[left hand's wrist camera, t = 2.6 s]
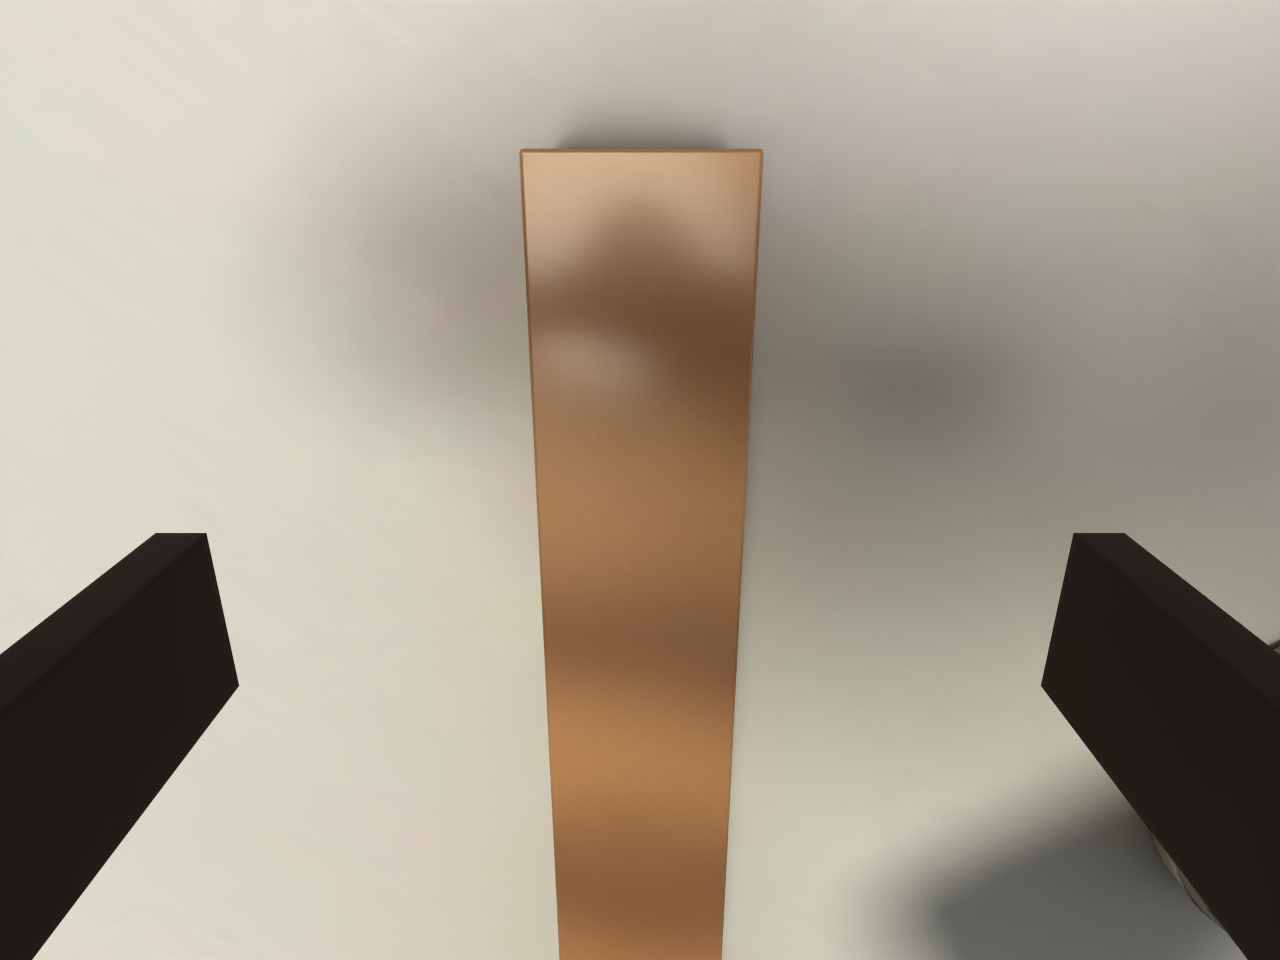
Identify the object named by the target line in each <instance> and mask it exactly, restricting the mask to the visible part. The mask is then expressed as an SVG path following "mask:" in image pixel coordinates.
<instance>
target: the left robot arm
mask: <svg viewBox="0 0 1280 960" xmlns="http://www.w3.org/2000/svg"><path fill="white" fill-rule="evenodd" d="M238 687H239V683H238V679H237V674H236V669H235V665H234V660H233V655H232V651H231V646H230V641H229V637H228V632H227V627H226V623H225V618H224V613H223V609H222V604H221V599H220V595H219V590H218V585H217V581H216V576H215V571H214V567H213V562H212V557H211V553H210V548H209V543H208V539H207V534H206V533H155V534H154V535H153V536H151V537H150V538H149V539H148V540H146V541H145V542H144V543H142V544H141V545H140V546H139V547H137V548H136V549H135V550H134V551H132V552H131V553H130V554H128V555H127V556H126V557H125V558H123V559H122V560H121V561H119V562H118V563H117V564H116V565H114V566H113V567H112V568H110V569H109V570H108V571H107V572H105V573H104V574H103V575H101V576H100V577H99V578H98V579H96V580H95V581H94V582H93V583H91V584H90V585H89V586H87V587H86V588H85V589H84V590H82V591H81V592H80V593H78V594H77V595H76V596H75V597H73V598H72V599H71V600H69V601H68V602H67V603H66V604H64V605H63V606H62V607H60V608H59V609H58V610H57V611H55V612H54V613H53V614H52V615H50V616H49V617H48V618H46V619H45V620H44V621H43V622H41V623H40V624H39V625H37V626H36V627H35V628H34V629H32V630H31V631H30V632H28V633H27V634H26V635H25V636H23V637H22V638H21V639H20V640H18V641H17V642H16V643H14V644H13V645H12V646H11V647H9V648H8V649H7V650H5V651H4V652H3V653H2V654H0V960H32V959H33V958H34V957H35V955H36V954H37V953H38V951H39V950H40V949H41V947H42V946H43V945H44V943H45V942H46V941H47V939H48V938H49V937H50V935H51V934H52V933H53V931H54V930H55V929H56V927H57V926H58V925H59V923H60V922H61V921H62V919H63V918H64V917H65V916H66V914H67V913H68V912H69V910H70V909H71V908H72V906H73V905H74V904H75V902H76V901H77V900H78V898H79V897H80V896H81V894H82V893H83V892H84V890H85V889H86V888H87V886H88V885H89V884H90V882H91V881H92V880H93V878H94V877H95V876H96V874H97V873H98V872H99V870H100V869H101V868H102V867H103V865H104V864H105V863H106V861H107V860H108V859H109V857H110V856H111V855H112V853H113V852H114V851H115V849H116V848H117V847H118V845H119V844H120V843H121V841H122V840H123V839H124V837H125V836H126V835H127V833H128V832H129V831H130V829H131V828H132V827H133V825H134V824H135V823H136V822H137V820H138V819H139V818H140V816H141V815H142V814H143V812H144V811H145V810H146V808H147V807H148V806H149V804H150V803H151V802H152V800H153V799H154V798H155V796H156V795H157V794H158V792H159V791H160V790H161V788H162V787H163V786H164V784H165V783H166V782H167V780H168V779H169V778H170V777H171V775H172V774H173V773H174V771H175V770H176V769H177V767H178V766H179V765H180V763H181V762H182V761H183V759H184V758H185V757H186V755H187V754H188V753H189V751H190V750H191V749H192V747H193V746H194V745H195V743H196V742H197V741H198V739H199V738H200V737H201V735H202V734H203V733H204V732H205V730H206V729H207V728H208V726H209V725H210V724H211V722H212V721H213V720H214V718H215V717H216V716H217V714H218V713H219V712H220V710H221V709H222V708H223V706H224V705H225V704H226V702H227V701H228V700H229V698H230V697H231V696H232V694H233V693H234V692H235V690H236V689H237V688H238ZM1041 687H1042V688H1043V689H1044V690H1045V692H1046V693H1047V694H1048V696H1049V697H1050V698H1051V700H1052V701H1053V702H1054V704H1055V705H1056V706H1057V708H1058V709H1059V710H1060V712H1061V713H1062V714H1063V716H1064V717H1065V718H1066V720H1067V721H1068V722H1069V724H1070V725H1071V726H1072V728H1073V729H1074V730H1075V732H1076V733H1077V734H1078V735H1079V737H1080V738H1081V739H1082V741H1083V742H1084V743H1085V745H1086V746H1087V747H1088V749H1089V750H1090V751H1091V753H1092V754H1093V755H1094V757H1095V758H1096V759H1097V761H1098V762H1099V763H1100V765H1101V766H1102V767H1103V769H1104V770H1105V771H1106V773H1107V774H1108V775H1109V777H1110V778H1111V779H1112V780H1113V782H1114V783H1115V784H1116V786H1117V787H1118V788H1119V790H1120V791H1121V792H1122V794H1123V795H1124V796H1125V798H1126V799H1127V800H1128V802H1129V803H1130V804H1131V806H1132V807H1133V808H1134V810H1135V811H1136V812H1137V814H1138V815H1139V816H1140V818H1141V819H1142V820H1143V822H1144V823H1145V824H1146V825H1147V827H1148V828H1149V829H1150V831H1151V832H1152V836H1153V839H1154V842H1155V846H1156V848H1157V850H1158V852H1159V854H1160V856H1161V858H1162V860H1163V861H1164V863H1165V864H1166V866H1167V867H1168V869H1169V870H1170V871H1171V873H1172V874H1173V875H1174V877H1175V878H1176V880H1177V881H1178V882H1179V884H1180V885H1181V886H1182V888H1183V889H1184V890H1185V892H1186V893H1187V894H1188V896H1189V897H1190V898H1191V900H1192V901H1193V902H1194V903H1195V904H1196V906H1197V907H1198V908H1199V909H1200V910H1201V911H1202V912H1203V913H1204V914H1206V915H1207V916H1208V917H1209V918H1210V919H1211V920H1213V921H1214V922H1215V923H1216V924H1217V925H1219V926H1220V927H1221V928H1222V929H1224V930H1225V931H1226V932H1227V933H1228V934H1229V935H1230V937H1231V938H1232V939H1233V941H1234V942H1235V943H1236V945H1237V946H1238V947H1239V949H1240V950H1241V951H1242V953H1243V954H1244V955H1245V957H1246V958H1247V959H1248V960H1280V647H1278V648H1276V649H1274V650H1273V649H1272V648H1271V647H1269V646H1268V645H1267V644H1266V643H1264V642H1263V641H1262V640H1260V639H1259V638H1258V637H1257V636H1255V635H1254V634H1253V633H1252V632H1250V631H1249V630H1248V629H1246V628H1245V627H1244V626H1243V625H1241V624H1240V623H1239V622H1237V621H1236V620H1235V619H1234V618H1232V617H1231V616H1230V615H1228V614H1227V613H1226V612H1225V611H1223V610H1222V609H1221V608H1220V607H1218V606H1217V605H1216V604H1214V603H1213V602H1212V601H1211V600H1209V599H1208V598H1207V597H1205V596H1204V595H1203V594H1202V593H1200V592H1199V591H1198V590H1196V589H1195V588H1194V587H1193V586H1191V585H1190V584H1189V583H1187V582H1186V581H1185V580H1184V579H1182V578H1181V577H1180V576H1179V575H1177V574H1176V573H1175V572H1173V571H1172V570H1171V569H1170V568H1168V567H1167V566H1166V565H1164V564H1163V563H1162V562H1161V561H1159V560H1158V559H1157V558H1155V557H1154V556H1153V555H1152V554H1150V553H1149V552H1148V551H1146V550H1145V549H1144V548H1143V547H1141V546H1140V545H1139V544H1138V543H1136V542H1135V541H1134V540H1132V539H1131V538H1130V537H1129V536H1127V535H1126V534H1125V533H1074V534H1073V539H1072V543H1071V548H1070V553H1069V557H1068V562H1067V567H1066V571H1065V576H1064V581H1063V585H1062V590H1061V595H1060V599H1059V604H1058V609H1057V613H1056V618H1055V623H1054V627H1053V632H1052V637H1051V641H1050V646H1049V651H1048V655H1047V660H1046V665H1045V669H1044V674H1043V679H1042V683H1041Z"/></svg>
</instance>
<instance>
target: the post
mask: <svg viewBox="0 0 1280 960" xmlns="http://www.w3.org/2000/svg"><path fill="white" fill-rule="evenodd" d="M519 154H520V174H521V194H522V214H523V234H524V254H525V274H526V294H527V314H528V334H529V354H530V374H531V394H532V415H533V435H534V455H535V475H536V495H537V515H538V535H539V555H540V575H541V595H542V615H543V635H544V655H545V675H546V695H547V716H548V736H549V756H550V776H551V796H552V816H553V836H554V856H555V876H556V896H557V916H558V936H559V956H560V960H722V941H723V921H724V902H725V882H726V863H727V844H728V824H729V805H730V786H731V766H732V747H733V727H734V708H735V689H736V669H737V650H738V630H739V611H740V592H741V572H742V553H743V534H744V514H745V495H746V475H747V456H748V437H749V417H750V398H751V379H752V359H753V340H754V320H755V301H756V282H757V262H758V243H759V223H760V204H761V185H762V165H763V151H762V150H761V149H521V150H520V153H519Z"/></svg>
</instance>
